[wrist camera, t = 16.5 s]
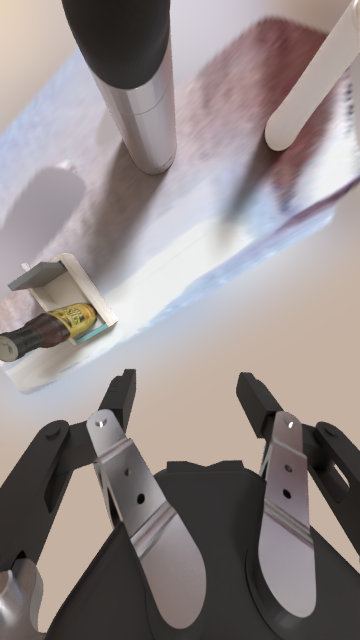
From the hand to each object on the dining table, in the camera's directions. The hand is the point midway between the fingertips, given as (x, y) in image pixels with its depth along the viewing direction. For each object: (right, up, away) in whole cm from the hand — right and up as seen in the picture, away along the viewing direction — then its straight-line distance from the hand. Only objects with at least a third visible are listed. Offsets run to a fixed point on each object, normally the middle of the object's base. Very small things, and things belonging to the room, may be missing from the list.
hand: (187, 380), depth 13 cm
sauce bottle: (-24, +6, +29) cm, 38 cm away
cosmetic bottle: (+18, +40, +19) cm, 48 cm away
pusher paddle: (-30, +16, +26) cm, 42 cm away
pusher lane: (-26, +9, +29) cm, 40 cm away
